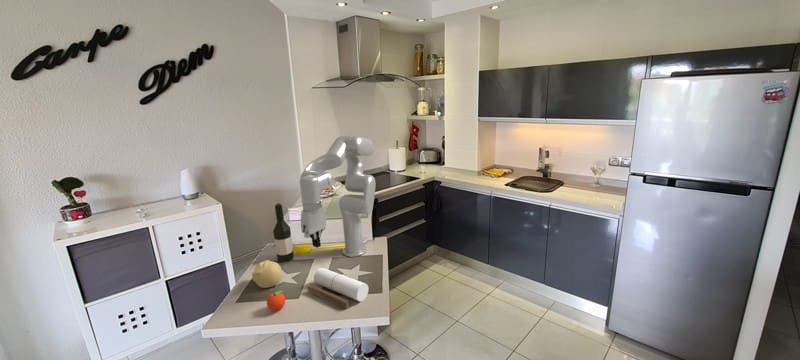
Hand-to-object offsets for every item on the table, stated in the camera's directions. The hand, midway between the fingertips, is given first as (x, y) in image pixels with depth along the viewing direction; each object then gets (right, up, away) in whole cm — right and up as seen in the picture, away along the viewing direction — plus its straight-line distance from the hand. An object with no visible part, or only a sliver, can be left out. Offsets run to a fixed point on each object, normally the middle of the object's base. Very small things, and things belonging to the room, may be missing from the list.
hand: (316, 246), depth 140 cm
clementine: (-13, -23, -9) cm, 28 cm away
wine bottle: (-24, -13, +30) cm, 41 cm away
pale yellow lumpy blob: (-24, -19, +8) cm, 31 cm away
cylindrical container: (0, -14, +6) cm, 16 cm away
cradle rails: (+9, -20, -1) cm, 22 cm away
